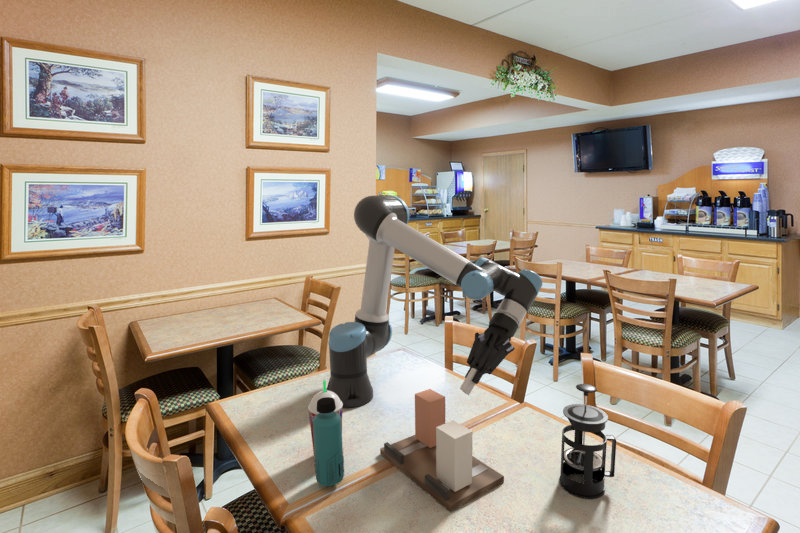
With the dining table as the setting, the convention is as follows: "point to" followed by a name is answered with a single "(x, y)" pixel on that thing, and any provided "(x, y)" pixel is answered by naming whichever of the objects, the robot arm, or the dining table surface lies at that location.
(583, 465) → the french press
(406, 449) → the board
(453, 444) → the key
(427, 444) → the key
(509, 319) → the robot arm
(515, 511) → the dining table surface
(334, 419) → the beverage bottle
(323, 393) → the smoothie
